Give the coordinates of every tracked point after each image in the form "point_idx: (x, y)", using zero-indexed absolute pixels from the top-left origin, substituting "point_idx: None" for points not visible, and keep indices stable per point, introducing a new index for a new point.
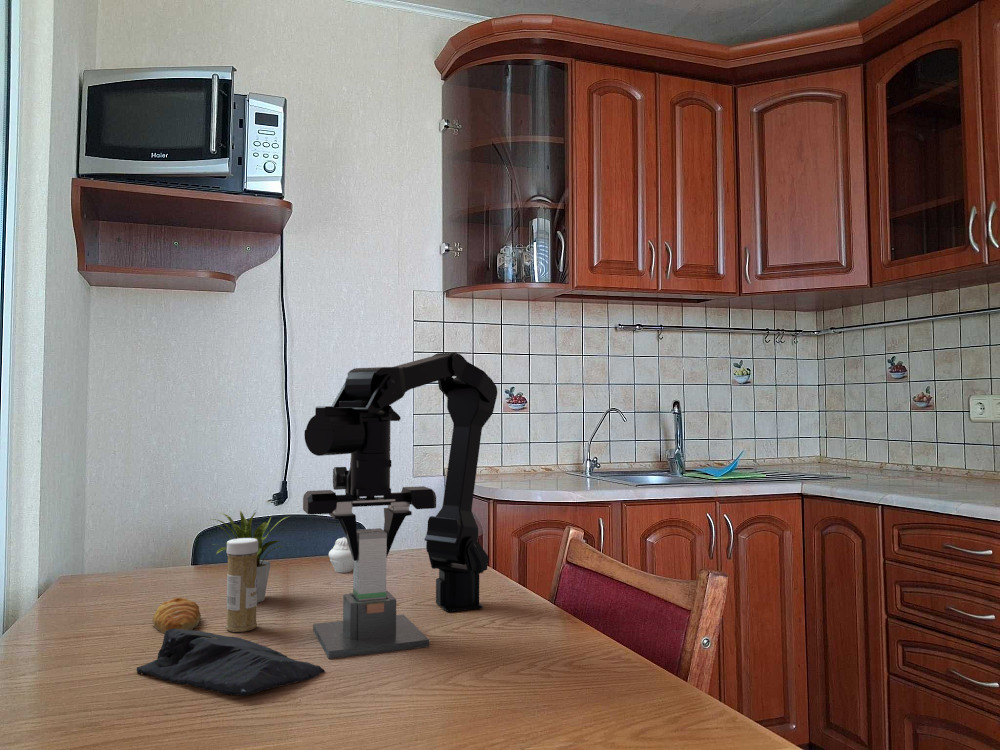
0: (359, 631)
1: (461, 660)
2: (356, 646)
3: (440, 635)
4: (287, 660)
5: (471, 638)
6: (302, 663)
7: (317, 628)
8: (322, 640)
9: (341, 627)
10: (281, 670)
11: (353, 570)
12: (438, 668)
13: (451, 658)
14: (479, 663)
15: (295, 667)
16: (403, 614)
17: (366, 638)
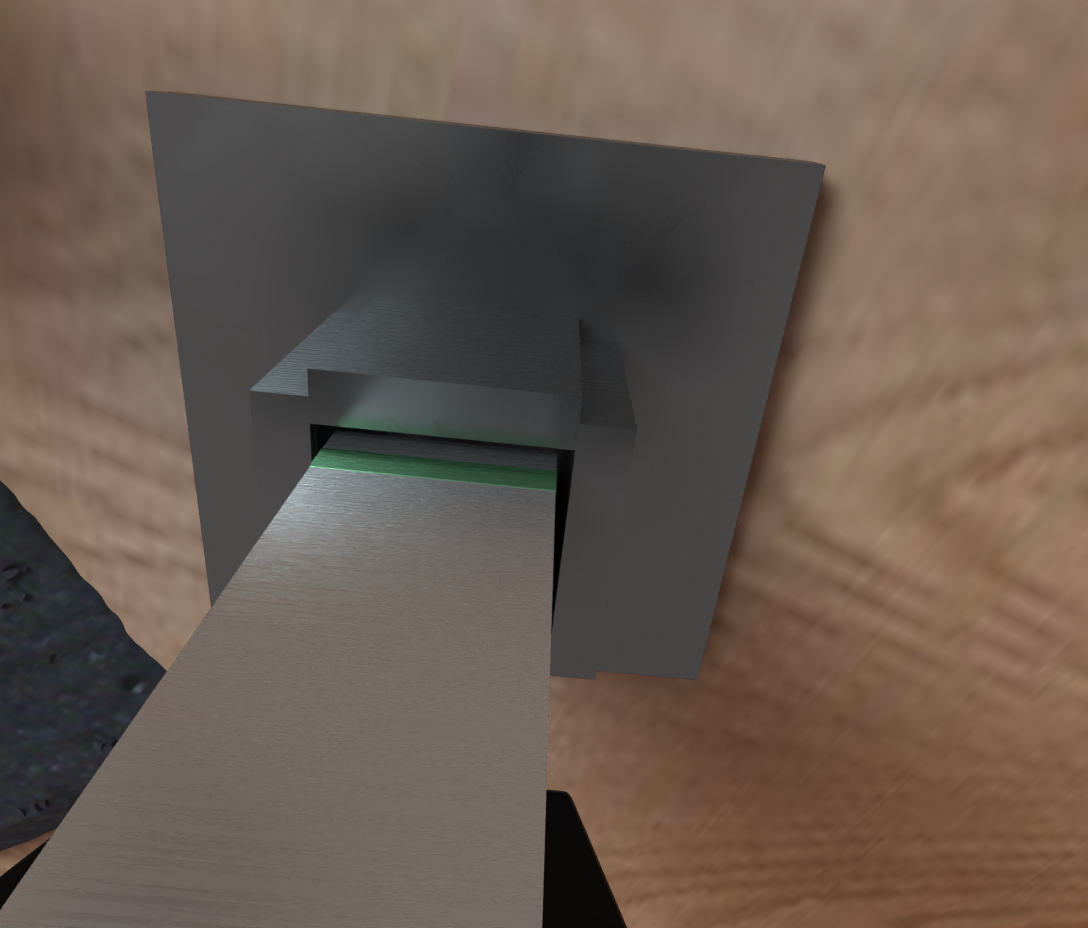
0: None
1: (722, 818)
2: None
3: (836, 536)
4: (16, 801)
5: (933, 636)
6: (89, 779)
7: (172, 233)
8: (194, 476)
9: (328, 282)
10: (9, 843)
11: (247, 563)
12: (607, 843)
13: (701, 790)
14: (761, 861)
15: (62, 813)
16: (824, 168)
17: None
